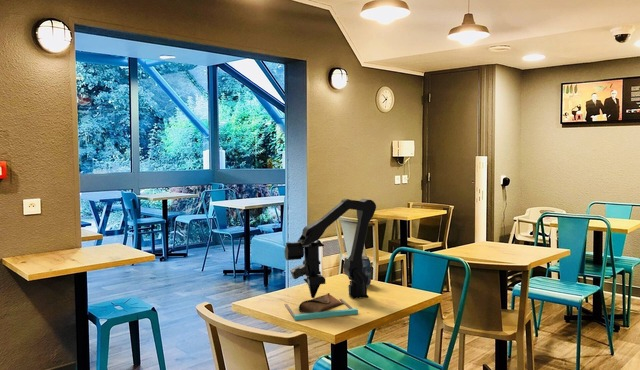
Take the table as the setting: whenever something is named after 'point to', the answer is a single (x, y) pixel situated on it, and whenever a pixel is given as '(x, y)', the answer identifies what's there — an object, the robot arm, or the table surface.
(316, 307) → the sunglasses case
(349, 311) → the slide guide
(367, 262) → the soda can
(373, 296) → the table surface
